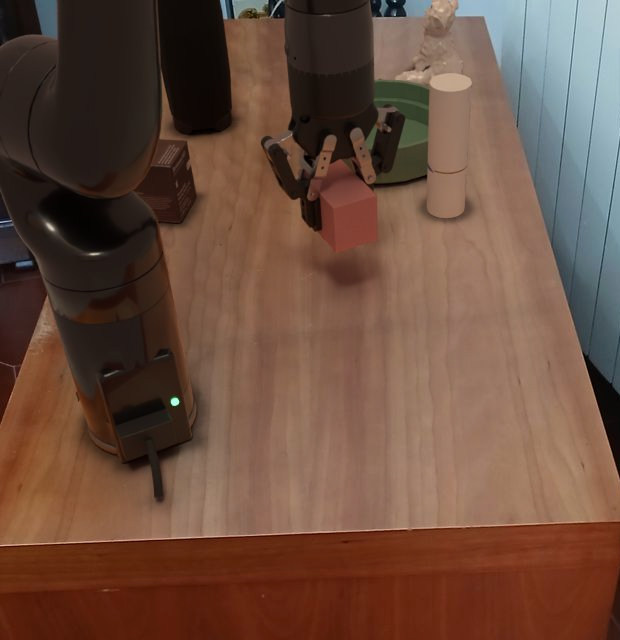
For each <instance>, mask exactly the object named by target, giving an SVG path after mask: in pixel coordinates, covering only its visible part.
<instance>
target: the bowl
mask: <svg viewBox="0 0 620 640" xmlns="http://www.w3.org/2000/svg"><path fill="white" fill-rule="evenodd" d="M374 82H375V98H374V101H373V102H374V105H375V106H376V108H383V106H384V105H386V104H391V105H392V106H393V107H395V108H396V109H398V110H399V111H400V112H401V113H402V114H403V115H404V116H405V122H404V126H403V130H402V134H401V138H400V141H399V145H398V149H397V153H396V157H395V160H394V164H393V168H392V170H391V171H390V172H389V173H386V174H385V173H383V172H382V173H381V174H379V175H378V176H377V177H376V180H375V181H374V183H373V184H376V185H377V184H378V185H379V184H393V183H400V182H406V181H409V180H414V179H416V178H420V177H423V176H426V175H427V169H428V128H429V90H430V87H428V86H425V85H423V84H419V83H413V82H408V81H403V80H395V79H381V78H380V79H379V78H378V79H374ZM376 131H377V127H376V124H375V125H374V127H373V129H372V131H371V132H370V134H369V136H368V138H367V139H366V141H365V143H366V146H367V148H368V151H369V154H370V155H371V151H372V147H373V143H374V139H375V135H376ZM341 160H342V161H343V162H344V163H345V164H346V165H347V166H348V167H349V168H350V169H351V170H352V171H353V172H354V173H355V174H356V172H355V171H354V169H353V166H352V164H351V161H350V159H341Z"/></svg>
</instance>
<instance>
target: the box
mask: <svg viewBox="0 0 620 640" xmlns="http://www.w3.org/2000/svg"><path fill="white" fill-rule="evenodd" d="M188 145H189V144H188V140H185V139H183V140H182V139H166V138H165V139H162V138H159V143H158V148H157V152H156V154H155V157H154V160H153V163H152V165H151V167H150V169H149V171H148V173H147V174H146V176H145V178H144V179H143V180H142V181H141V183H140V184H139V185H138V186H137V187H136V188H135V189H134V191H135V192H136V193H137V194H138V195H139V196H140V197H141V198H142V199H143V200H144V201H145V202H146V203H147V204H148V205H149V206H150V207H151V209H152V210H153V212H154V213H155V215H156V217H157V220H158V222H166V223H177V224H178V223H181V222H183V220H184V219H185V217H186V216H187V214H188V212H189V210H190V209H191V207H192V205H193V203H194V202H195V200H196V198H197V190H196V186H195V178H194V173H193V168H192V161H191V156H190V151H189V147H188Z"/></svg>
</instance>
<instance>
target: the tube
mask: <svg viewBox="0 0 620 640" xmlns="http://www.w3.org/2000/svg"><path fill="white" fill-rule="evenodd" d="M472 87H473V82H472V79H471V78H470V77H469V76H467V75H465V74H463V75H461V74H456V73H446V74H440V75H437V76H435V77H433V78H432V79H431V80H430V90H429V128H428V169H427V176H426V211H427V213H428V214H429V215H431V216H433V217H436V218H439V219H453V218H456V217H459V216H461V215H462V214H463V213H464V212H465V209H466V194H467V192H466V191H467V175H468V174H467V173H468V157H469V138H470V123H471V122H470V121H471V105H472V104H471V103H472Z"/></svg>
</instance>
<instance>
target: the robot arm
mask: <svg viewBox="0 0 620 640" xmlns="http://www.w3.org/2000/svg"><path fill="white" fill-rule="evenodd" d="M283 21H284V23H283V29H284V32H283V34H284V46H283V48H284V49H283V50H284V54H285V56H286V67H287V79H288V91H289V102H290V109H291V117H290V121H289V123H288V126H287V130H286V131H284V132H283V133H281V134H279V135H277V136H275V137H272V136H271V135H265V136H263V137H262V138H261V140H260V145H261V148H262V150H263V152H264V155H265V158H266V159H267V161H268V162H269V166H270V168H271V170H272V172H273V175H274V177H275V179H276V181H277V184H278V186H279V187H280V188H281V190H282V191H283V192H284V193H285V195H287V197H289V199H290V200H292V201H295V200H298V199H299V202H300V203H299V204H300V214H301V215H300V216H301V218H302V220H303V222H304V223H305V224H306V226H307V227H308V228H309V229H312V230H313V231H314V232H315V233H316V232H317V231H320V230H322V218H321V202H320V198H319V197H318V196H319V193H320V189H321V185H322V181H323V179H325V178H326V176H327V172H328V168H329V164H332V163H334V162H336V161H338V160H339V159H350V161H351V164H352V166H353V169H354V171H355V172H356V175H357V176H358V177H359V178H360V179H361V180H362V181H363V182H364V183H365V184H366V185H367V186H368V187H369V188H370V189H371V190H372V191H373V192H374V193H375V191H374V185H375V183H374V181H375V180H376V177H377V176H378V175H379V174H381V173H382V172H383V173H385V174H386V173H389V172H390V171H391V170H392V168H393V164H394V160H395V157H396V153H397V149H398V145H399V141H400V138H401V134H402V130H403V126H404V122H405V116H404V115H403V114H402V113H401V112H400V111H399V110H398V109H396V108H395V107H393V106H392V105H391V104H386V105H384V106H383V108H376V106H375V105H374V102H373V101H374V98H375V82H374V80H375V40H374V39H375V37H374V33H375V32H374V20H373V12H372V7H371V0H284V20H283ZM162 123H163V76H162V70H161V56H160V38H159V19H158V0H56V37H54V36H50V35H45V34H25V35H21V36H18V37H15V38H13V39H10V40H8V41H6V42H5V43H3V44H2V45H1V46H0V194H1V196H2V200H3V202H4V205H5V207H6V210H7V213H8V216H9V218H10V220H11V222H12V225H13V227H14V229H15V231H16V233H17V235H18V236H19V238H20V239H21V241H22V242H23V243H24V244H25V246H26V247H27V249H28V250H29V251H30V252H31V254H32V255H33V257H34V258H35V261H36V263H37V266H38V270H39V273H40V277H41V279H42V282H43V285H44V289H45V293H46V296H47V298H48V302H49V307H50V309H51V312H52V315H53V319H54V322H55V325H56V328H57V331H58V335H59V338H60V341H61V344H62V347H63V350H64V354H65V357H66V361H67V364H68V367H69V370H70V373H71V376H72V379H73V384H74V386H75V389H76V391H75V395H76V399H77V402H78V403H79V402H80V404H81V408H82V411H83V414H84V418H85V425H86V428H87V432H88V435H89V437H90V438H91V440H92V441H93V442H94V444H95V445H97V446H98V447H99V448H100V449H102V450H104V451H105V452H107V453H110V454H114V455H116V456H117V457H118V458H119V460H120V462H121V463H124V464H125V463H128V462H130V461H134V460H136V459H140V458H143V457H145V456H147V457H148V461H149V466H150V470H151V471H150V472H151V477H152V486H153V496H154V497H153V498H154V499H162V498H163V497H164V489H163V485H164V484H163V476H162V470H161V466H160V460H159V456H158V452H160V451H162V450H165V449H168V448H170V447H173V446H176V445H178V444H182V443H184V442H187V441H189V440H192V438H193V434H192V429H191V428H192V426H193V425H194V423H195V421H196V417H197V404H196V398H195V395H194V392H193V389H192V385H191V379H190V374H189V370H188V365H187V360H186V355H185V350H184V345H183V339H182V336H181V335H182V334H181V331H180V325H179V324H180V323H179V320H178V319H179V318H178V315H177V310H176V309H177V308H176V305H175V299H174V295H173V290H172V289H173V288H172V284H171V280H170V272H169V268H168V263H167V258H166V253H165V248H164V242H163V237H162V232H161V228H160V224H159V221H158V220H157V217H156V215H155V213H154V212H153V210H152V209H151V207H150V206H149V205H148V204H147V203H146V202H145V201H144V200H143V199H142V198H141V197H140V196H139V195H138V194H137V193H136V192H135V191H134V189H135V188H136V187H137V186H138V185H139V184H140V183H141V181H142V180H143V179H144V178H145V176H146V174H147V173H148V171H149V169H150V167H151V165H152V163H153V160H154V157H155V154H156V152H157V148H158V143H159V139H161V138H160V137H161V132H162ZM375 124H376V127H377V131H376V135H375V139H374V143H373V147H372V151H371V155H370V154H369V151H368V148H367V146H366V143H365V141H366V139H367V138H368V136H369V134H370V132H371V131H372V129H373V127H374V125H375ZM294 144H297V146H299V148H300V149H301V153H300V156H299V167H300V168H299V169H300V173H299V175H298V177H297V178H296V177H295V174H294V171H293V169H292V167H291V165H290V162H289V161H290V160H292V154H293V152H292V147H293V146H294ZM317 233H318V232H317Z"/></svg>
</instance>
